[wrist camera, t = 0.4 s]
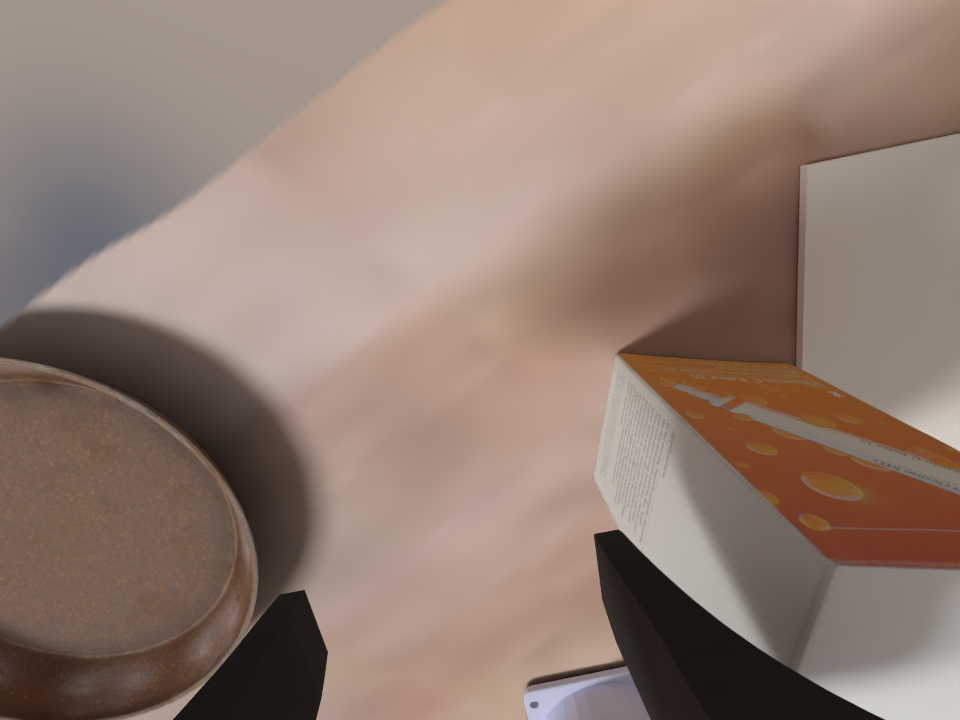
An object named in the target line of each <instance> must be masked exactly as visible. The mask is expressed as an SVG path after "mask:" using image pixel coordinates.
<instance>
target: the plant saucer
mask: <svg viewBox="0 0 960 720" xmlns="http://www.w3.org/2000/svg"><path fill="white" fill-rule="evenodd" d="M258 577H259V576H258V560H257V553H256V549H255V544H254V540H253V536H252V533H251V530H250V527H249V524H248V521H247V518H246V516H245V513H244V511H243V509H242V506H241V504H240V502H239V500H238V498H237V496H236V494H235V492H234V491H233V489H232V488H231V486H230V484H229V483H228V481H227V479H226V478H225V476H224V475H223V473H222V472H221V471H220V469H219V468H218V467H217V465H216V464H215V463H214V461H213V460H212V459H211V457H210V456H209V455H208V454H207V453H206V452H205V451H204V450H203V448H202V447H201V446H200V445H199V444H198V443H197V442H196V441H195V440H194V439H193V438H192V437H191V436H190V435H188V434H187V433H186V432H185V431H184V430H182V429H181V428H180V427H179V426H178V425H177V424H175V423H174V422H173V421H171V420H170V419H169V418H167V417H166V416H164V415H163V414H161V413H160V412H159V411H157V410H156V409H154V408H153V407H151V406H149V405H148V404H146V403H144V402H142V401H141V400H139V399H137V398H135V397H133V396H132V395H130V394H127V393H125V392H123V391H121V390H119V389H117V388H115V387H113V386H110V385H108V384H105V383H103V382H100V381H98V380H95V379H93V378H90V377H87V376H84V375H81V374H78V373H75V372H71V371H68V370H65V369H61V368H57V367H53V366H49V365H45V364H40V363H35V362H30V361H25V360H19V359H12V358H5V357H0V720H123V719H127V718H131V717H133V716H137V715H141V714H144V713H147V712H151V711H153V710H156V709H159V708H161V707H163V706H165V705H167V704H170V703H172V702H174V701H176V700H178V699H180V698H182V697H183V696H185V695H187V694H188V693H190V692H192V691H193V690H195V689H196V688H198V687H199V686H201V685H202V684H203V683H204V682H206V681H207V680H208V679H209V678H210V677H211V676H212V675H214V673H215V672H216V671H217V670H218V669H219V667H220V666H221V665H222V664H223V663H224V661H225V660H226V659H227V658H228V657H229V655H230V654H231V653H232V652H233V651H234V649H235V648H236V647H237V646H238V645H239V643H240V642H241V640H242V639H243V637H244V635H245V633H246V631H247V629H248V627H249V624H250V621H251V618H252V616H253V613H254V609H255V605H256V599H257V592H258Z"/></svg>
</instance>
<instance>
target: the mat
mask: <svg viewBox="0 0 960 720" xmlns="http://www.w3.org/2000/svg"><path fill="white" fill-rule="evenodd" d="M796 367H797V368H800V369H802V370H804V371H806V372H808V373H810V374H812V375H814V376H815V377H817V378H819V379H821V380H823V381H825V382H827V383H829V384H831V385H833V386H835V387H837V388H838V389H840V390H842V391H844V392H846V393H848V394H850V395H851V396H853V397H855V398H857V399H859V400H861V401H863V402H865V403H867V404H869V405H871V406H873V407H875V408H877V409H879V410H881V411H883V412H884V413H886V414H888V415H890V416H892V417H894V418H896V419H898V420H900V421H902V422H904V423H906V424H908V425H910V426H912V427H914V428H916V429H918V430H920V431H922V432H924V433H926V434H928V435H930V436H932V437H934V438H935V439H937V440H939V441H941V442H943V443H945V444H947V445H949V446H951V447H953V448H955V449H956V450H958V451H960V133H958V134H953V135H948V136H943V137H938V138H933V139H929V140H924V141H919V142H914V143H909V144H904V145H899V146H894V147H889V148H885V149H880V150H875V151H870V152H865V153H860V154H855V155H850V156H846V157H841V158H836V159H831V160H826V161H821V162H816V163H811V164H806V165H802V166H800V202H799V248H798V294H797V340H796Z"/></svg>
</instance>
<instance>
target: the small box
mask: <svg viewBox="0 0 960 720" xmlns="http://www.w3.org/2000/svg"><path fill="white" fill-rule="evenodd" d="M594 479H595V481H596V483H597V485H598V487H599V489H600V491H601V493H602V495H603V497H604V499H605V501H606V503H607V505H608V507H609V509H610V511H611V513H612V515H613V517H614V519H615V521H616V523H617V525H618V528H619V530H620V531H622V532H623V533H624V534H625V535H626V536H627V537H628V538H629V539H630V540H631V542H632V543H633V544H634V545H635V546H636V547H637V548H638V549H639V550H640V551H641V552H642V553H643V554H644V555H645V556H646V557H647V558H648V559H649V560H650V561H651V562H652V563H653V564H654V565H655V566H656V567H657V568H659V569H660V570H661V571H662V572H663V573H664V574H665V575H666V576H667V577H668V578H669V579H671V580H672V581H673V582H674V583H675V584H676V585H677V586H678V587H680V588H681V589H682V590H683V591H684V592H685V593H686V594H688V595H689V596H690V597H691V598H692V599H693V600H695V601H696V602H697V603H698V604H700V605H701V606H702V607H703V608H705V609H706V610H707V611H708V612H710V613H711V614H712V615H713V616H715V617H716V618H717V619H718V620H720V621H721V622H722V623H724V624H725V625H726V626H728V627H729V628H730V629H732V630H733V631H734V632H736V633H737V634H739V635H740V636H742V637H743V638H744V639H746V640H747V641H749V642H750V643H752V644H753V645H754V646H756V647H757V648H759V649H760V650H762V651H763V652H765V653H767V654H768V655H770V656H771V657H773V658H774V659H776V660H777V661H779V662H780V663H782V664H784V665H785V666H787V667H789V668H791V669H792V670H794V671H796V672H797V673H799V674H801V675H802V676H804V677H806V678H808V679H809V680H811V681H813V682H814V683H816V684H818V685H819V686H821V687H823V688H825V689H826V690H828V691H830V692H832V693H834V694H836V695H838V696H839V697H841V698H843V699H845V700H847V701H849V702H851V703H853V704H855V705H857V706H859V707H861V708H862V709H864V710H866V711H868V712H870V713H872V714H874V715H876V716H878V717H881V718H883V719H885V720H960V451H958V450H956V449H955V448H953V447H951V446H949V445H947V444H945V443H943V442H941V441H939V440H937V439H935V438H934V437H932V436H930V435H928V434H926V433H924V432H922V431H920V430H918V429H916V428H914V427H912V426H910V425H908V424H906V423H904V422H902V421H900V420H898V419H896V418H894V417H892V416H890V415H888V414H886V413H884V412H883V411H881V410H879V409H877V408H875V407H873V406H871V405H869V404H867V403H865V402H863V401H861V400H859V399H857V398H855V397H853V396H851V395H850V394H848V393H846V392H844V391H842V390H840V389H838V388H837V387H835V386H833V385H831V384H829V383H827V382H825V381H823V380H821V379H819V378H817V377H815V376H814V375H812V374H810V373H808V372H806V371H804V370H802V369H800V368H797V367H795V366H793V365H792V364H789V363H757V362H736V361H721V360H702V359H688V358H675V357H661V356H648V355H637V354H625V353H618V354H616V356H615V359H614V366H613V371H612V377H611V383H610V388H609V393H608V399H607V405H606V410H605V416H604V421H603V426H602V431H601V437H600V443H599V448H598V454H597V460H596V465H595V470H594Z"/></svg>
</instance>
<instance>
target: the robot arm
mask: <svg viewBox="0 0 960 720" xmlns="http://www.w3.org/2000/svg"><path fill="white" fill-rule="evenodd" d="M594 539H595V546H596V554H597V562H598V570H599V577H600V585H601V593H602V600H603V603H604V606H605V609H606V612H607V615H608V619H609V622H610V625H611V628H612V631H613V634H614V637H615V640H616V642H617V645H618V647H619V649H620V652H621V654H622V656H623V659H624V661H625V663H626V665H627V666H625V667H620V668H615V669H610V670H605V671H601V672H596V673H591V674H586V675H581V676H576V677H571V678H566V679H561V680H556V681H551V682H546V683H541V684H536V685H531V686H528V687H527V688H525V689H524V691H523V696H524V702H525V706H526V711H527V715H528V719H529V720H885V719H883V718H881V717H878V716H876V715H874V714H872V713H870V712H868V711H866V710H864V709H862V708H861V707H859V706H857V705H855V704H853V703H851V702H849V701H847V700H845V699H843V698H841V697H839V696H838V695H836V694H834V693H832V692H830V691H828V690H826V689H825V688H823V687H821V686H819V685H818V684H816V683H814V682H813V681H811V680H809V679H808V678H806V677H804V676H802V675H801V674H799V673H797V672H796V671H794V670H792V669H791V668H789V667H787V666H785V665H784V664H782V663H780V662H779V661H777V660H776V659H774V658H773V657H771V656H770V655H768V654H767V653H765V652H763V651H762V650H760V649H759V648H757V647H756V646H754V645H753V644H752V643H750V642H749V641H747V640H746V639H744V638H743V637H742V636H740V635H739V634H737V633H736V632H734V631H733V630H732V629H730V628H729V627H728V626H726V625H725V624H724V623H722V622H721V621H720V620H718V619H717V618H716V617H715V616H713V615H712V614H711V613H710V612H708V611H707V610H706V609H705V608H703V607H702V606H701V605H700V604H698V603H697V602H696V601H695V600H693V599H692V598H691V597H690V596H689V595H688V594H686V593H685V592H684V591H683V590H682V589H681V588H680V587H678V586H677V585H676V584H675V583H674V582H673V581H672V580H671V579H669V578H668V577H667V576H666V575H665V574H664V573H663V572H662V571H661V570H660V569H659V568H657V567H656V566H655V565H654V564H653V563H652V562H651V561H650V560H649V559H648V558H647V557H646V556H645V555H644V554H643V553H642V552H641V551H640V550H639V549H638V548H637V547H636V546H635V545H634V544H633V543H632V542H631V540H630V539H629V538H628V537H627V536H626V535H625V534H624V533H623V532H622V531H620V530H619V529H618V530H613V531H608V532H603V533H598V534H594ZM327 655H328V651H327V649H326V646H325V643H324V641H323V638H322V635H321V633H320V630H319V627H318V625H317V622H316V619H315V617H314V614H313V611H312V609H311V606H310V603H309V601H308V598H307V595H306V593H305V590H301V591H296V592H291V593H286V594H281V595H279V596H278V598H277V599H276V600H275V601H274V602H273V603H272V604H271V606H270V607H269V608H268V609H267V611H266V612H265V613H264V614H263V615H262V617H261V618H260V619H259V620H258V621H257V623H256V624H255V625H254V626H253V628H252V629H251V630H250V631H249V633H248V634H247V635H246V636H245V637H244V639H243V640H242V641H241V642H240V643H239V645H238V646H237V647H236V648H235V649H234V651H233V652H232V653H231V654H230V655H229V657H228V658H227V659H226V660H225V661H224V663H223V664H222V665H221V666H220V667H219V669H218V670H217V671H216V672H215V673H214V675H213V676H212V677H211V678H210V679H209V680H208V681H207V682H206V683H205V685H204V686H203V687H202V688H201V689H200V690H199V691H198V692H197V694H196V695H195V696H194V697H193V698H192V699H191V700H190V701H189V702H188V704H187V705H186V706H185V707H184V708H183V709H182V710H181V711H180V713H179V714H178V715H177V716H176V717H175V718H174V719H173V720H316V717H317V713H318V709H319V705H320V701H321V697H322V690H323V684H324V678H325V670H326V662H327Z"/></svg>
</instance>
